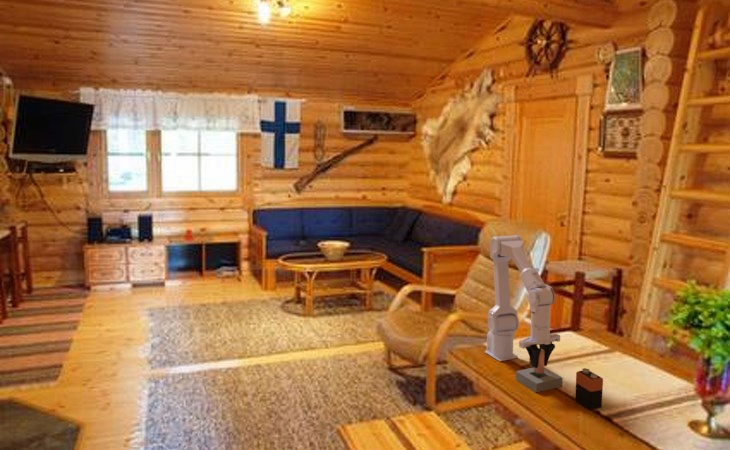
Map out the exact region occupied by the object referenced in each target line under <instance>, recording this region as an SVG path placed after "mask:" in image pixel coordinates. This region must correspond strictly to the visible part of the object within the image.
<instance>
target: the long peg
mask: <svg viewBox="0 0 730 450" xmlns="http://www.w3.org/2000/svg"><path fill="white" fill-rule="evenodd" d="M544 354H545V351H544V350H543V349H541V352H540V355H539V361H538V368H535V367H534V372H536V373H544V368H545V366H544Z"/></svg>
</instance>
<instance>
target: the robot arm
mask: <svg viewBox="0 0 730 450" xmlns="http://www.w3.org/2000/svg"><path fill="white" fill-rule="evenodd" d="M524 244H525V243H524V241H523V239H522V237H521V236H520V235H519V234H515V235H504V236H503V235H502V236H501V235H500V236H496V235H495V236H493V237H492V238H491V240H490V241H489V254H490V256H489V257H490V259H491V260H492V263H493V281H494V282H493V283H494V300H495V302H494V303H495V305H494V306H493V307H492V308H490V309H489V310H488V317H487V321H486V323H487V328H488V329H489V331H488V332H487V334H486V350H485V351H484V353H485V354H486V355H488V356H489V357H492V358H493V359H494V360H497V361H498V362H503V361H504V362H505V361H509V360H513V359H518V358H519V356H518V355H517V354H515V353H514V334H516V331H517V330H519V326H520V319H519V316H518V311H517V309H516V308H514V307H513V306H511V294H510V293H511V292H510V290H511V289H510V273H509V262H510V260H511V261H512V262H513V263H514V265H515V266H516V268H517V269H518V271H519V272H520V276H519V279H520V280H521V282H522V284H523V286H524V288H525V289H526V291H527V292H528V293H527V301H528V303H529V309H530V311H531V313H530V336H528V337H526V338H524V339H521V340H518V343H519V344H518V346H519V348H521V349H525V350H526V351H527V353H528V355H529V361H530V360H531V364H532V366H533V367H535V368H538V361H539V355H540V352H541V349H543V350H544V351H545V354H544V367H547V366H548V363H549V359H550V356H551V355H552V352H553V351H554V350H555V348H556V344H554V342H558V343H559V342H561V335H560V334H558V333H551V332H550V331H551V311H552V310H551V308H552V307H551V306H552V305H553V304H554V303H555V301H556V293H555V290H554V289H553V286H550V285H548V284H547V283H545V282H544V280H543V278H542V277H541V275H540V273H539V272H538V271H537V269H536V268H532V267H531V265H530V262H529V261H528V257H526V253H525V252H524V247H525V245H524ZM550 333H551V334H550Z"/></svg>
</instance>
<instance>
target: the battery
mask: <svg viewBox="0 0 730 450" xmlns="http://www.w3.org/2000/svg"><path fill="white" fill-rule="evenodd" d="M575 375H576V376H575V379H576V380H575V392H574V393H575V394H574V395H575V398H574V400H575V401H577V402H578V403H579V404H580V405H582V406H584V407H585V408H587V409H588V410H590V411H591V410H594V409H600V408H602V406H603V405H602V404H603V389H604V388H603V386H604V378H603V377H602V376H600V375H598V374H596V373H594V372H592V371H591V370H590V368H583V367H582V370H578V371H576V373H575Z"/></svg>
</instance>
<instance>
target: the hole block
mask: <svg viewBox="0 0 730 450" xmlns="http://www.w3.org/2000/svg"><path fill="white" fill-rule="evenodd" d="M515 380H516V382H518V383H520V384H521V383H522V385H523V386H524V387H526V388H528V389H529V388H530V389H529V390H531V391H532V392H534V391H535V392H534V393H536V392H538V393H541V392H540V391H542V392H545V390H546V391H549V389H550V390H553V389H557V388H558V387H559V388H562V387H563V377H562V376H560V375H559V374H556V373H555V372H554V371H551V370H549V369H547V368H545V367H544V373H536V372H534V367H533V368H525V369H519V370H516V371H515ZM561 386H562V387H561Z"/></svg>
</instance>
